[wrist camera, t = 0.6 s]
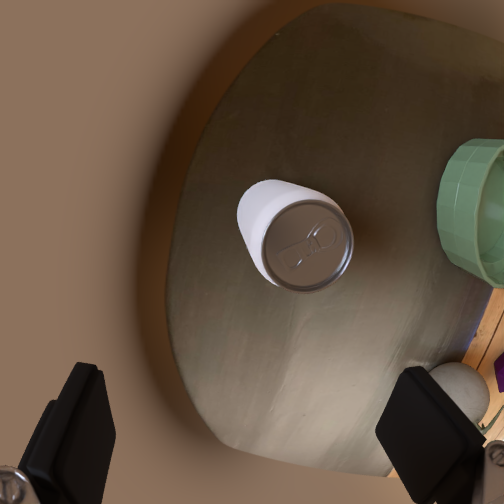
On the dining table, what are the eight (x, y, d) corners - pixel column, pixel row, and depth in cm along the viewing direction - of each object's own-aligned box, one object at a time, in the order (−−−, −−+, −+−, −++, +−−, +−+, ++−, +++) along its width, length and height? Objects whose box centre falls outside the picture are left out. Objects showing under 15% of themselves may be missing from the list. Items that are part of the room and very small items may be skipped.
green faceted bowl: (427, 139, 29) (470, 139, 23) (510, 139, 30) (547, 142, 24) (432, 283, 34) (468, 306, 28) (510, 255, 35) (543, 269, 29)
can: (316, 224, 30) (375, 263, 19) (259, 260, 31) (288, 319, 19) (283, 165, 28) (330, 170, 17) (222, 203, 29) (230, 231, 17)
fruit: (426, 411, 42) (471, 470, 27) (391, 393, 39) (443, 466, 24) (468, 364, 40) (523, 416, 26) (441, 337, 37) (508, 398, 23)
